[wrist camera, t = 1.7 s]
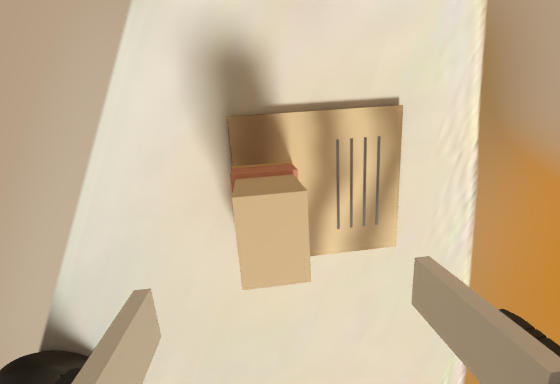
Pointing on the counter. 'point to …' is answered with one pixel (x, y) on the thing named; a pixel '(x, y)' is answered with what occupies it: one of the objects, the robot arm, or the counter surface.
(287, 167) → the block
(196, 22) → the counter surface
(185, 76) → the counter surface
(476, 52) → the counter surface
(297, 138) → the board
